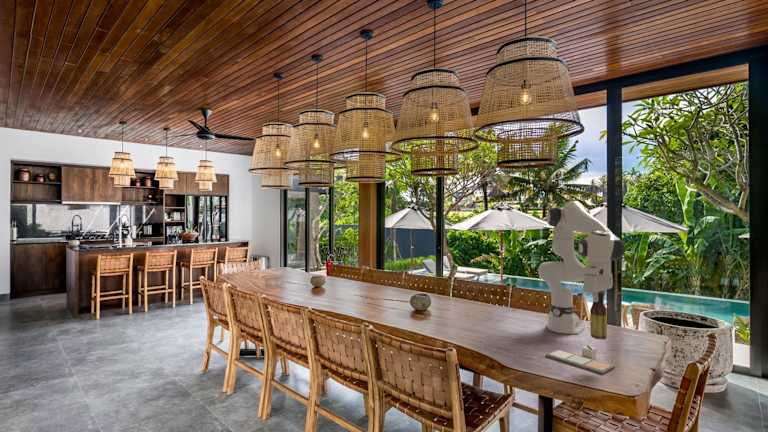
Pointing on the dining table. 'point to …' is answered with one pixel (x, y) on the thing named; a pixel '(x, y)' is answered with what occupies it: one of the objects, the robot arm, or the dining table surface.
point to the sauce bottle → (598, 319)
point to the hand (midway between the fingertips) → (598, 300)
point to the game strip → (580, 361)
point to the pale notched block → (589, 352)
